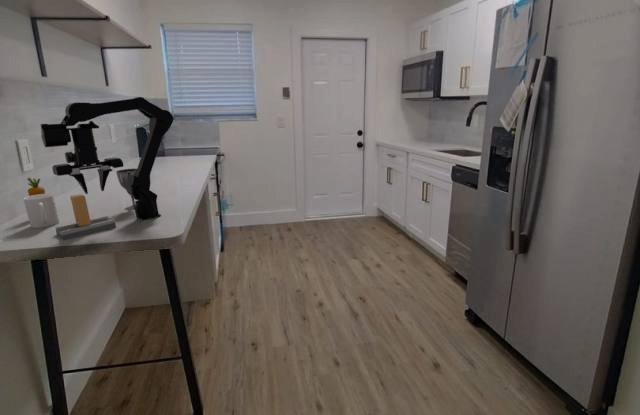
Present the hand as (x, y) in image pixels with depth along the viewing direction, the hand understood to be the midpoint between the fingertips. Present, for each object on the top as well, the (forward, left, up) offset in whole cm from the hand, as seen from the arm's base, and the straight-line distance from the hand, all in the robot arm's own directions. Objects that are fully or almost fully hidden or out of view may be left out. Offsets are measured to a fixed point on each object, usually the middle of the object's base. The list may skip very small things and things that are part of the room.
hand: (94, 192), depth 121 cm
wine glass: (-17, -17, -12) cm, 27 cm away
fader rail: (+4, 0, -12) cm, 13 cm away
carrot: (+10, -34, -12) cm, 37 cm away
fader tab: (+5, 0, -10) cm, 11 cm away
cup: (+12, -19, -12) cm, 26 cm away
